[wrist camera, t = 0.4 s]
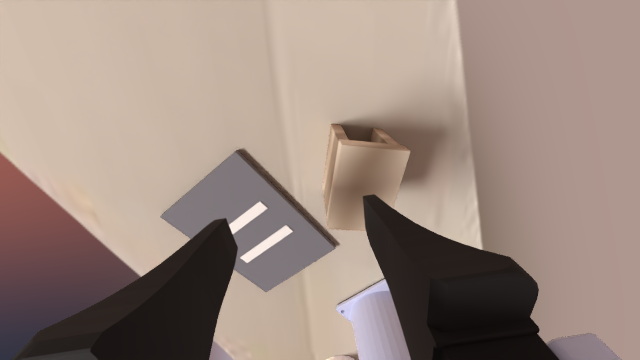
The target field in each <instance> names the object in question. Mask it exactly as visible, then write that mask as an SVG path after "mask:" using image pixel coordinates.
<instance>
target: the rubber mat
mask: <svg viewBox="0 0 640 360" xmlns="http://www.w3.org/2000/svg"><path fill="white" fill-rule="evenodd" d="M160 217H161V218H162V219H164V220H165V221H167V222H168V223H169V224H171V225H172V226H174V227H175V228H176V229H178V230H179V231H181V232H182V233H183V234H185V235H186V236H188V237H189V238H190V239H192V238H193V237H194V236H195V235H196V234H198V233H199V232H200V231H201V230H202V229H203V228H205V227H206V226H207V225H208V224H210V223H211V222H212V221H214V220H217V219H223V218H226V219H227V222H228V224H229V227H230V229H231V232H232V234H233V237H234V239H235V242H236V244H237V246H238V251H237V257H236V262H235V266H234V270H235V271H237V272H238V273H240V274H241V275H243V276H244V277H245V278H247V279H248V280H250V281H251V282H252V283H254V284H255V285H257V286H258V287H259V288H261V289H262V290H264V291H265V292H268V291H269V290H271V289H272V288H274V287H275V286H277V285H279V284H280V283H282V282H283V281H285V280H287V279H288V278H290V277H291V276H293V275H294V274H296V273H298V272H299V271H301V270H302V269H304V268H305V267H307V266H309V265H310V264H312V263H313V262H315V261H317V260H318V259H320V258H321V257H323V256H324V255H326V254H328V253H329V252H331V251H332V250H334V249H335V245H334V244H333V243H332V242H331V241H330V240H329V239H328V238H327V237H326V236H325V235H324V234H323V233H322V232H321V231H320V230H319V229H318V228H317V227H316V226H315V225H314V224H313V223H312V222H311V221H310V220H309V219H308V218H307V217H306V216H305V215H304V214H303V213H302V212H301V211H300V210H299V209H297V208H296V207H295V206H294V205H293V204H292V203H291V202H290V201H289V200H288V199H287V198H286V197H285V196H284V195H283V194H282V193H281V192H280V191H279V190H278V189H277V188H276V187H275V186H274V185H273V184H272V183H271V182H270V181H269V180H268V179H267V178H266V177H265V176H264V175H263V174H262V173H261V172H260V171H259V170H257V169H256V168H255V167H254V166H253V165H252V164H251V163H250V162H249V161H248V160H247V159H246V158H245V157H244V156H243V155H242V154H241V153H240V152H239V151H238V150H236V151H235V152H234V153H233V154H232V155H231V156H229V157H228V158H227V159H226V160H225V161H224V162H222V163H221V164H220V165H219V166H218V167H217V168H215V169H214V170H213V171H212V172H211V173H210V174H208V175H207V176H206V177H205V178H204V179H203V180H201V181H200V182H199V183H198V184H197V185H196V186H194V187H193V188H192V189H191V190H190V191H189V192H187V193H186V194H185V195H184V196H183V197H182V198H180V199H179V200H178V201H177V202H176V203H175V204H173V205H172V206H171V207H170V208H169V209H168V210H166V211H165V212H164V213H163V214H162V215H161V216H160Z"/></svg>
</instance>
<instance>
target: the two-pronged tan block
mask: <svg viewBox="0 0 640 360" xmlns="http://www.w3.org/2000/svg"><path fill="white" fill-rule="evenodd" d="M410 152H411V151H409V150H408V149H407V148H406V147H405V146H404V145H399V144H398V143H396V142H395V141H394V140H393V139H392V138H391V137H390V136H389V135H388V134H386V133H385V132H384V131H383V130H382V129H374V128H373V130H372V135H371V139H370V142H365V141H355V140H349V139H348V138H347V136H346V134H345V132H344V130H343V129H342V127H341V125H335V124H331V128H330V135H329V143H328V150H327V157H326V164H325V171H324V178H323V185H322V189H323V195H324V202H325V209H326V216H327V218H326V220H327V228H328V229H336V230H354V231H366V229H365V219H364V207H363V196H366V195H372V194H375V195H376V196H377V197H379V198H380V199H381V200H383V201H384V202H385V203H386V204H388V205H389V206H390V207H392V208H394V204H395V201H396V198H397V195H398V191H399V188H400V185H401V181H402V178H403V175H404V172H405V168H406V165H407V162H408V158H409V155H410Z"/></svg>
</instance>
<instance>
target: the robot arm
mask: <svg viewBox="0 0 640 360" xmlns="http://www.w3.org/2000/svg"><path fill="white" fill-rule="evenodd" d="M363 207H364V219H365V229H366V232H367V236H368V239H369V242H370V245H371V247H372V250H373V252H374V254H375V257H376V259H377V261H378V264H379V266H380V268H381V270H382V273H383V275H384V277H385V279H383V280H382V281H380V282H378V283H376V284H375V285H373V286H371V287H369V288H367V289H366V290H364V291H362V292H360V293H359V294H357V295H355V296H353V297H351V298H350V299H348V300H346V301H344V302H342V303H341V304H339V305H337V306H336V310H337V311H338V312H339V313H340V314H341V315H343V316H344V317H345V318H346V319H348V320H349V321H350V322H351V323H352V325H353V330H354V335H355V341H356V346H357V352H358V357H359V360H621V359H620V358H619V357H618V356H617V355H616V354H615V353H614V352H613V351H612V350H611V349H610V348H609V347H608V346H607V345H606V344H605V343H603V342H602V341H601V340H600V339H599V338H598V337H597V336H596V335H595V334H591V333H587V334H581V335H574V336H568V337H561V338H556V339H553V340H551V341H549V342H548V343H547V344H546V343H545V342H544V341H543V340H542V339H541V338H540V337H539V335H538V334H537V333H538V332H539V328H538V326H537V325H536V324H535V323H534V321H533V320H532V319H531V318H530V315H531V313H532V310H533V308H534V305H535V302H536V300H537V296H538V291H539V289H538V285H537V283H536V282H535V280H534V279H533V278H532V277H531V276H530V275H529V274H528V273H527V272H526V271H525V270H524V269H523V268H522V267H520V266H519V265H518V264H517V263H516V262H515V261H514V260H512V259H511V258H510V257H508V256H503V255H500V254H496V253H492V252H488V251H484V250H480V249H477V248H474V247H471V246H468V245H464V244H461V243H459V242H456V241H453V240H451V239H448V238H446V237H443V236H441V235H438V234H436V233H434V232H432V231H430V230H428V229H426V228H424V227H422V226H420V225H418V224H416V223H415V222H413V221H411V220H410V219H408V218H406V217H405V216H403V215H402V214H400V213H399V212H397V211H396V210H394V209H393V208H392V207H390V206H389V205H388V204H386V203H385V202H384V201H383V200H381V199H380V198H379V197H377V196H376V195H375V194H372V195H366V196H363ZM237 251H238V246H237V244H236V242H235V239H234V237H233V234H232V232H231V229H230V227H229V224H228V222H227V219H226V218H223V219H217V220H214V221H212V222H211V223H210V224H208V225H207V226H206V227H205V228H203V229H202V230H201V231H200V232H199V233H198V234H196V235H195V236H194V237H193V238H192V239H191V240H189V241H188V242H187V243H186V244H185V245H184V246H182V247H181V248H180V249H179V250H177V251H176V252H175V253H174V254H172V255H171V256H170V257H169V258H167V259H166V260H165V261H163V262H162V263H161V264H159V265H158V266H157V267H155V268H154V269H152V270H151V271H150V272H148V273H147V274H145V275H144V276H142V277H141V278H139V279H138V280H136V281H134V282H133V283H131V284H129V285H128V286H126V287H124V288H123V289H121V290H120V291H118V292H116V293H114V294H113V295H111V296H109V297H107V298H106V299H104V300H102V301H100V302H98V303H96V304H94V305H93V306H91V307H89V308H87V309H85V310H83V311H81V312H79V313H77V314H75V315H73V316H71V317H68V318H66V319H64V320H62V321H60V322H58V323H56V324H54V325H52V326H49V327H47V328H45V329H43V330H41V331H39V332H38V333H37V334H36V335H35V336H34V337H33V338H32V339H31V340H30V341H29V342H28V343H27V344H26V345H25V346H24V347H23V348H22V349H21V350H20V351H19V352H18V353H17V354H16V355H15V356H14V357H13V358H12V359H11V360H209V357H210V351H211V346H212V342H213V337H214V332H215V328H216V324H217V319H218V315H219V312H220V308H221V305H222V302H223V299H224V296H225V293H226V290H227V287H228V284H229V282H230V279H231V276H232V273H233V269H234V266H235V262H236V257H237Z"/></svg>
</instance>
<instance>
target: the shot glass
mask: <svg viewBox="0 0 640 360" xmlns="http://www.w3.org/2000/svg"><path fill="white" fill-rule="evenodd" d="M326 360H355V359H354V358H352V357H350V356H344V355H339V356H333V357H330V358H328V359H326Z"/></svg>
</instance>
